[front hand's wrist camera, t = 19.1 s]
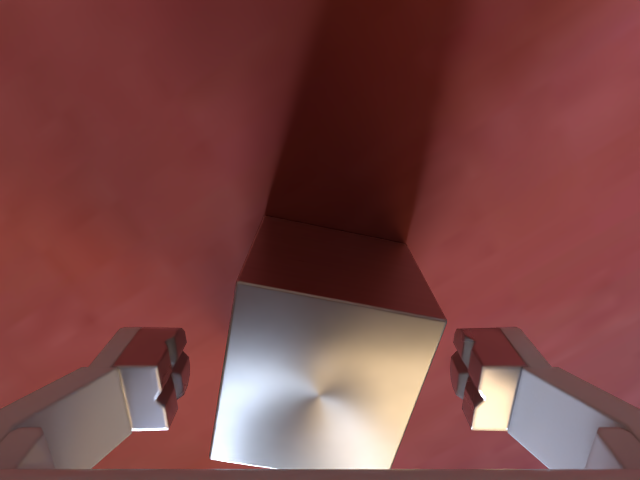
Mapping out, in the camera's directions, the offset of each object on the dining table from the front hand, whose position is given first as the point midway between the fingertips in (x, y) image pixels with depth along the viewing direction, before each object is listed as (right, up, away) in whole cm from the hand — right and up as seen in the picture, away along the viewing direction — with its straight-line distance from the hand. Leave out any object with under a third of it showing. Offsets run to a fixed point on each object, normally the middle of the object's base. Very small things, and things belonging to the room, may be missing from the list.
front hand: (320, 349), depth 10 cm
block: (0, +1, +3) cm, 3 cm away
